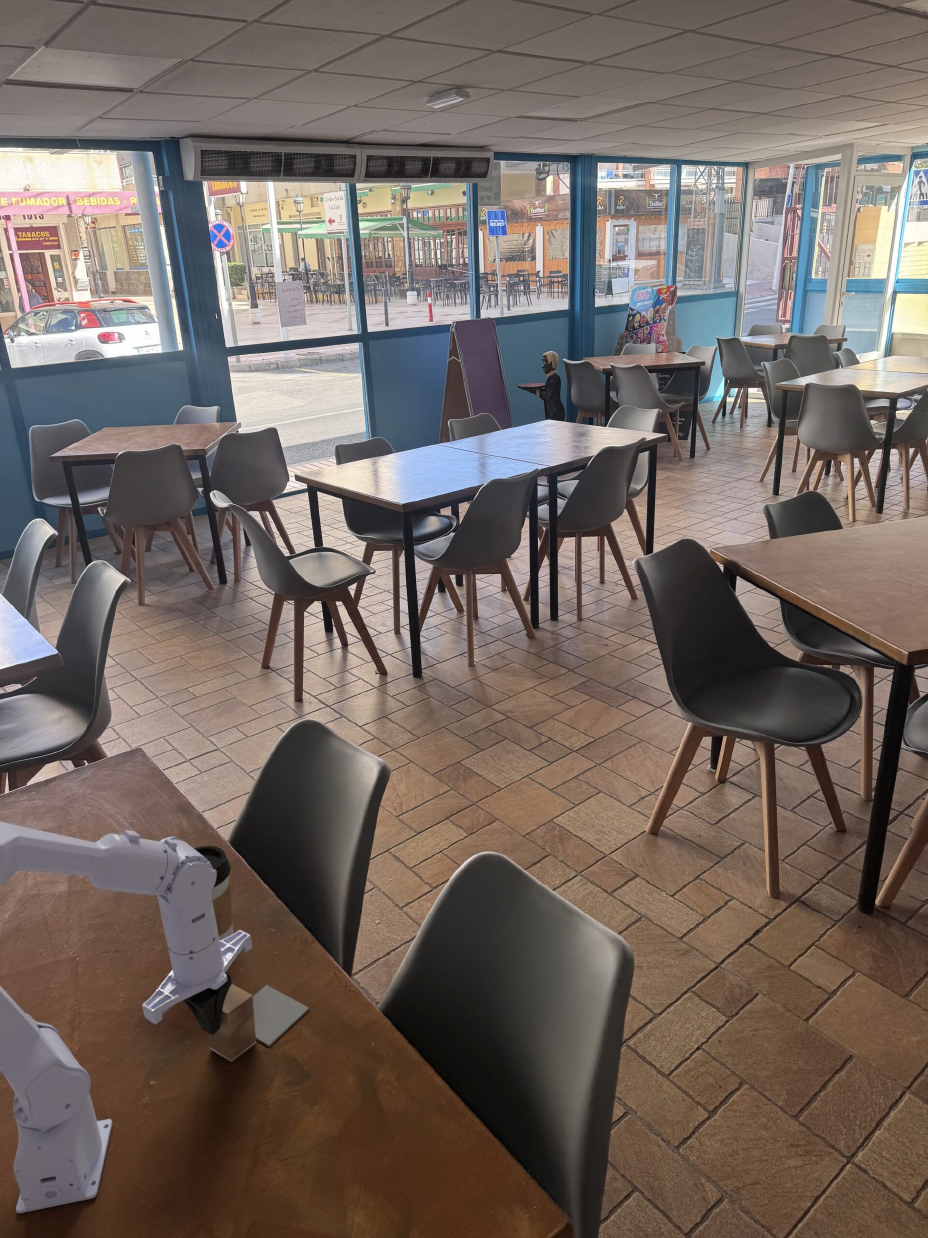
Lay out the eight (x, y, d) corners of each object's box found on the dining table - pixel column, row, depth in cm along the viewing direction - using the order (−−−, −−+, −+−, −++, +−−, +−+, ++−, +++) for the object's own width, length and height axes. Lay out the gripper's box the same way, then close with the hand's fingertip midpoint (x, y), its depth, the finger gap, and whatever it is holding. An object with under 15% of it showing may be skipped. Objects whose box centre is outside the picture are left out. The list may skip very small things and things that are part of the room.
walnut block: (231, 1062, 107) (227, 1014, 106) (209, 1048, 110) (205, 1001, 108) (256, 1042, 111) (252, 995, 109) (234, 1030, 113) (230, 983, 111)
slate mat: (269, 1047, 110) (268, 1045, 110) (226, 1021, 114) (225, 1019, 114) (309, 1009, 115) (309, 1007, 115) (266, 986, 120) (266, 985, 120)
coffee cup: (171, 956, 127) (152, 868, 122) (212, 920, 134) (196, 836, 128) (214, 973, 123) (197, 883, 118) (254, 935, 130) (240, 849, 125)
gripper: (162, 990, 94) (184, 1086, 99) (262, 913, 105) (277, 1003, 110) (122, 966, 98) (145, 1059, 103) (223, 895, 109) (239, 982, 114)
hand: (210, 1029), depth 107 cm, fingers closed
